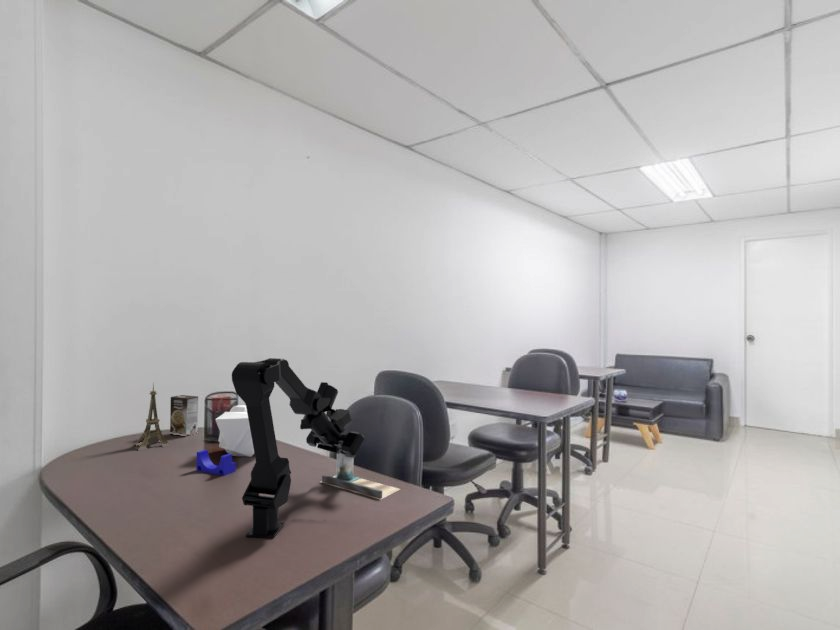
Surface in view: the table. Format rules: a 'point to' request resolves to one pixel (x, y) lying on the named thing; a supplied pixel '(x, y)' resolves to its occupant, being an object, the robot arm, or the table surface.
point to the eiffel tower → (150, 421)
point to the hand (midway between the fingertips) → (348, 454)
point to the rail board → (361, 486)
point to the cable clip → (207, 466)
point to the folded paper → (235, 432)
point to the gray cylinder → (344, 465)
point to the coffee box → (184, 414)
